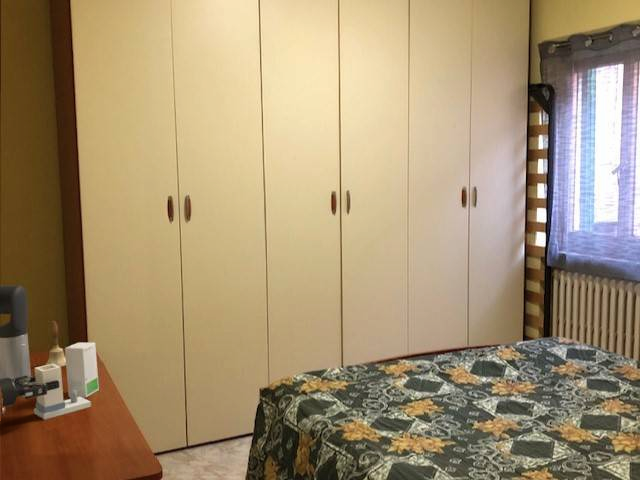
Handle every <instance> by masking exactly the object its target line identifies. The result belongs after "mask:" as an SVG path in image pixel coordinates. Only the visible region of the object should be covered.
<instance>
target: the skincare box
mask: <svg viewBox="0 0 640 480" xmlns="http://www.w3.org/2000/svg"><path fill="white" fill-rule="evenodd" d="M64 356H65V358H66V365H65V368H66V378H67V379H66V380H67V392H68V393H67V395H68V398H71V396H70V391H71V390H77V397H82V398H84V399H86V398H88V397H90V396H91V395H93V394H94V393H95V394H96V392H98V391H99V389H100V387H99V386H100V385H99V374H98V363H97V360H98V359H97V349H96V342H76V343H74V344H71V345H69V346H67V347H65V348H64Z"/></svg>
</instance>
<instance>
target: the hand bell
mask: <svg viewBox="0 0 640 480" xmlns="http://www.w3.org/2000/svg"><path fill="white" fill-rule="evenodd" d="M50 323H51V324H50V328H49V329H50V334H51V335H50V336H51V338H52V343H53V344H52V345H53V346H52V347H53V348H52V349H50V350H49V357H48V360H47V361H46V363H45V365H49V364H55V365H57V366H59V367H61V368H62V367H66V356H65V352H64V349H63V348H62V347H60V346H59V339H58V336H59V327H58V325H57V322H56V320H52V321H51V322H50Z"/></svg>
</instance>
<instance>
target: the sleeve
mask: <svg viewBox="0 0 640 480" xmlns="http://www.w3.org/2000/svg"><path fill="white" fill-rule="evenodd" d="M34 377H35V380H36V382H38V383H47V382H51V381H55V380H58V381H59V388H57V389H53V390H49V391H47V394H46V395H42V396H37V397H36V402H35V408H37V409H39V410H41V411H42V412H44V413H47V412H50V411H54V410H58V409H61V408H65V402H64V401H65V400H64V390H63V378H62V367H59V366H57V365H55V364H49V365H46V364H45V365H41V366H40V365H39V366H37V367H34ZM39 390H42V389H39Z"/></svg>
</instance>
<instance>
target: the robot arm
mask: <svg viewBox="0 0 640 480" xmlns="http://www.w3.org/2000/svg"><path fill="white" fill-rule="evenodd" d="M28 306H29V302H28V293H27V291H26V289H25V287H23V286H22V285H17V284H16V285H14V284H13V285H0V315H9V321H8V322H6V323H3V324H0V378H1V379H0V386H1V393H2V398H3V407H7V406H11V405H14V404H15V403H16V402H17V398H18V397H23V398H24V399H25V400H28V399H31V398H37V396H42V395H46V394H47V391H49V390H53V389H57V388H59V381H58V380H55V381H51V382H47V383H38V382H36V380H35V376H32V373H31V371H32V370H31V361H30V349H29V348H30V347H29V336H28V326H29V307H28ZM39 389H42V390H39ZM3 407H2V408H3Z"/></svg>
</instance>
